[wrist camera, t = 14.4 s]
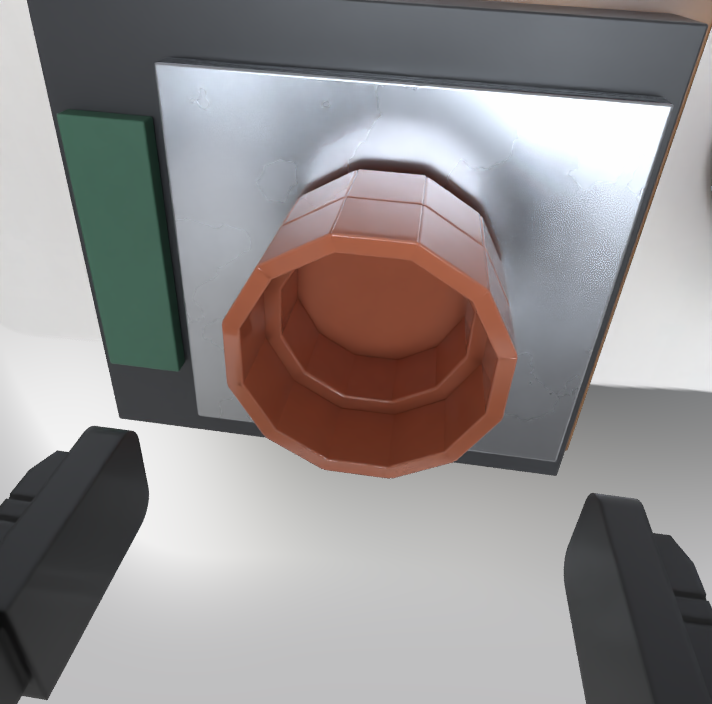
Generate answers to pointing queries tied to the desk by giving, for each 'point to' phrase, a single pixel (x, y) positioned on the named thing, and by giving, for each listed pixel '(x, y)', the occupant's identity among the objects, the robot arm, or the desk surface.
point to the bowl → (374, 328)
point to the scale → (301, 50)
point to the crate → (707, 5)
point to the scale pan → (434, 160)
